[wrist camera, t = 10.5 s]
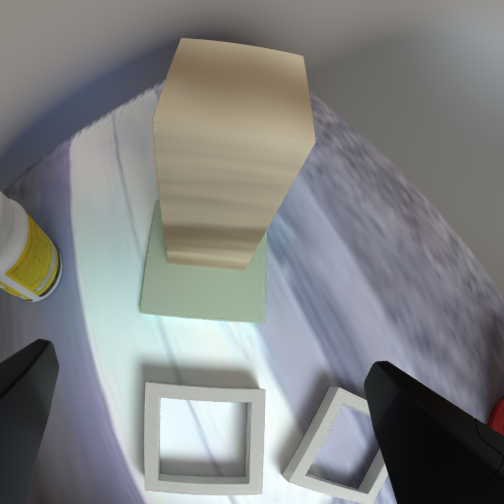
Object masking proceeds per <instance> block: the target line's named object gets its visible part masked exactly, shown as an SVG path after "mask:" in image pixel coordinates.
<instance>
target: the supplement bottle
mask: <svg viewBox="0 0 504 504" xmlns="http://www.w3.org/2000/svg"><path fill="white" fill-rule="evenodd" d="M61 274H62V258H61V255H60V252H59V250H58V248H57V246H56V245H55V244H54V243H53V241H52V240H51V239H50V238H49V237H48V236H47V235H46V234H45V233H44V232H43V231H42V229H41V228H40V227H39V226H38V225H37V224H36V222H35V221H34V220H33V219H32V218H31V216H30V215H29V214H28V213H27V212H26V211H25V209H24V208H23V207H22V206H21V205H20V204H19V203H17V202H16V201H14V200H11V199H8V198H7V197H6V196H5V195H4V194H3V193H2V192H1V191H0V288H1V289H3V290H5V291H6V292H8V293H10V294H12V295H14V296H16V297H17V298H19V299H21V300H24V301H27V302H37V301H40V300H42V299H44V298H46V297H47V296H49V295H50V294H51V293H52V292H53V291H54V290H55V288H56V287H57V285H58V283H59V281H60V278H61Z"/></svg>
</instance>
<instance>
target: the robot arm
mask: <svg viewBox="0 0 504 504" xmlns="http://www.w3.org/2000/svg"><path fill="white" fill-rule="evenodd" d="M58 372H59V363H58V359H57V355H56V352H55V348H54V345H53V343H52V342H51V341H49V340H44V339H38V340H36V341H34V342H33V343H31V344H29V345H28V346H26V347H25V348H23V349H21V350H20V351H18V352H17V353H15V354H14V355H12V356H11V357H9V358H7V359H6V360H4V361H3V362H1V363H0V504H26V503H27V498H28V493H29V488H30V484H31V479H32V475H33V471H34V467H35V463H36V459H37V455H38V452H39V448H40V444H41V441H42V438H43V434H44V431H45V428H46V424H47V421H48V417H49V413H50V408H51V403H52V399H53V394H54V389H55V385H56V381H57V376H58ZM364 391H365V395H366V399H367V404H368V408H369V412H370V417H371V421H372V425H373V429H374V433H375V436H376V439H377V442H378V445H379V448H380V451H381V454H382V457H383V460H384V463H385V466H386V469H387V472H388V476H389V479H390V482H391V485H392V488H393V492H394V495H395V498H396V502H397V504H504V435H503V434H501V433H499V432H497V431H495V430H493V429H492V428H490V427H489V426H487V425H485V424H484V423H482V422H480V421H479V420H477V419H476V418H473V416H471V415H470V414H468V413H466V412H465V411H463V410H462V409H460V408H459V407H457V406H456V405H454V404H452V403H451V402H449V401H448V400H446V399H445V398H443V397H442V396H440V395H439V394H437V393H436V392H434V391H432V390H431V389H429V388H428V387H426V386H425V385H423V384H422V383H420V382H419V381H417V380H416V379H414V378H413V377H411V376H410V375H408V374H407V373H405V372H403V371H402V370H400V369H399V368H397V367H396V366H394V365H393V364H391V363H390V362H388V361H377V362H375V363H374V364H373V365H372V367H371V369H370V371H369V373H368V375H367V377H366V379H365V382H364Z"/></svg>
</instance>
